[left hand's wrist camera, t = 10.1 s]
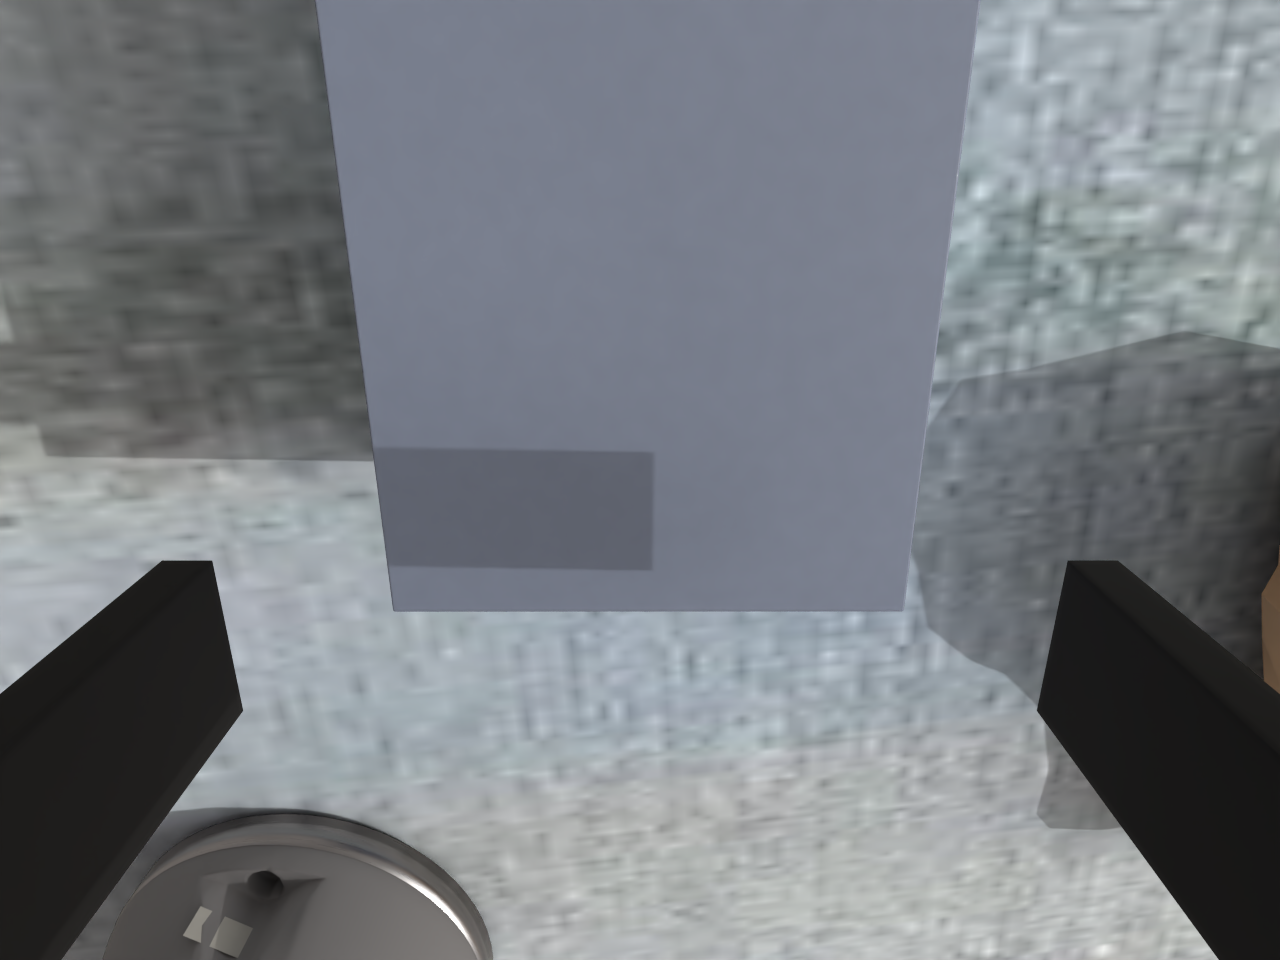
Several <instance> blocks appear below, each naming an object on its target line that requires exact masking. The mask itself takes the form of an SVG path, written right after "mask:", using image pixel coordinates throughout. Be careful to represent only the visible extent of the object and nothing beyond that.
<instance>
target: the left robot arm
mask: <svg viewBox="0 0 1280 960" xmlns="http://www.w3.org/2000/svg"><path fill="white" fill-rule="evenodd" d="M242 711H243V708H242V703H241V698H240V693H239V689H238V684H237V679H236V674H235V669H234V664H233V659H232V655H231V650H230V645H229V640H228V635H227V630H226V625H225V621H224V616H223V611H222V606H221V601H220V596H219V591H218V587H217V582H216V577H215V572H214V567H213V562H212V561H161V562H160V563H159V564H158V565H156V566H155V567H154V568H153V569H152V570H150V571H149V572H148V573H147V574H145V575H144V576H143V577H142V578H141V579H139V580H138V581H137V582H136V583H134V584H133V585H132V586H131V587H130V588H128V589H127V590H126V591H125V592H124V593H122V594H121V595H120V596H119V597H117V598H116V599H115V600H114V601H113V602H111V603H110V604H109V605H108V606H107V607H105V608H104V609H103V610H102V611H100V612H99V613H98V614H97V615H96V616H94V617H93V618H92V619H91V620H90V621H88V622H87V623H86V624H85V625H83V626H82V627H81V628H80V629H79V630H77V631H76V632H75V633H74V634H73V635H71V636H70V637H69V638H68V639H66V640H65V641H64V642H63V643H62V644H60V645H59V646H58V647H57V648H56V649H54V650H53V651H52V652H51V653H49V654H48V655H47V656H46V657H45V658H43V659H42V660H41V661H40V662H39V663H37V664H36V665H35V666H34V667H32V668H31V669H30V670H29V671H28V672H26V673H25V674H24V675H23V676H21V677H20V678H19V679H18V680H17V681H15V682H14V683H13V684H12V685H11V686H9V687H8V688H7V689H6V690H4V691H3V692H2V693H1V694H0V960H61V959H62V958H63V956H64V955H65V954H66V952H67V951H68V950H69V948H70V947H71V945H72V944H73V943H74V941H75V940H76V939H77V937H78V936H79V935H80V933H81V932H82V930H83V929H84V928H85V926H86V925H87V924H88V922H89V921H90V919H91V918H92V917H93V915H94V914H95V913H96V911H97V910H98V909H99V907H100V906H101V904H102V903H103V902H104V900H105V899H106V898H107V896H108V895H109V893H110V892H111V891H112V889H113V888H114V887H115V885H116V884H117V883H118V881H119V880H120V878H121V877H122V876H123V874H124V873H125V872H126V870H127V869H128V867H129V866H130V865H131V863H132V862H133V861H134V859H135V858H136V857H137V855H138V854H139V852H140V851H141V850H142V848H143V847H144V846H145V844H146V843H147V841H148V840H149V839H150V837H151V836H152V835H153V833H154V832H155V831H156V829H157V828H158V826H159V825H160V824H161V822H162V821H163V820H164V818H165V817H166V815H167V814H168V813H169V811H170V810H171V809H172V807H173V806H174V805H175V803H176V802H177V800H178V799H179V798H180V796H181V795H182V794H183V792H184V791H185V789H186V788H187V787H188V785H189V784H190V783H191V781H192V780H193V779H194V777H195V776H196V774H197V773H198V772H199V770H200V769H201V768H202V766H203V765H204V763H205V762H206V761H207V759H208V758H209V757H210V755H211V754H212V753H213V751H214V750H215V748H216V747H217V746H218V744H219V743H220V742H221V740H222V739H223V737H224V736H225V735H226V733H227V732H228V731H229V729H230V728H231V727H232V725H233V724H234V722H235V721H236V720H237V718H238V717H239V716H240V714H241V713H242ZM1037 711H1038V713H1039V714H1040V716H1041V717H1042V718H1043V720H1044V721H1045V722H1046V724H1047V725H1048V727H1049V728H1050V729H1051V731H1052V732H1053V733H1054V735H1055V736H1056V737H1057V739H1058V740H1059V742H1060V743H1061V744H1062V746H1063V747H1064V748H1065V750H1066V751H1067V753H1068V754H1069V755H1070V757H1071V758H1072V759H1073V761H1074V762H1075V763H1076V765H1077V766H1078V768H1079V769H1080V770H1081V772H1082V773H1083V774H1084V776H1085V777H1086V779H1087V780H1088V781H1089V783H1090V784H1091V785H1092V787H1093V788H1094V789H1095V791H1096V792H1097V794H1098V795H1099V796H1100V798H1101V799H1102V800H1103V802H1104V803H1105V805H1106V806H1107V807H1108V809H1109V810H1110V811H1111V813H1112V814H1113V815H1114V817H1115V818H1116V820H1117V821H1118V822H1119V824H1120V825H1121V826H1122V828H1123V829H1124V831H1125V832H1126V833H1127V835H1128V836H1129V837H1130V839H1131V840H1132V841H1133V843H1134V844H1135V846H1136V847H1137V848H1138V850H1139V851H1140V852H1141V854H1142V855H1143V857H1144V858H1145V859H1146V861H1147V862H1148V863H1149V865H1150V866H1151V867H1152V869H1153V870H1154V872H1155V873H1156V874H1157V876H1158V877H1159V878H1160V880H1161V881H1162V883H1163V884H1164V885H1165V887H1166V888H1167V889H1168V891H1169V892H1170V893H1171V895H1172V896H1173V898H1174V899H1175V900H1176V902H1177V903H1178V904H1179V906H1180V907H1181V909H1182V910H1183V911H1184V913H1185V914H1186V915H1187V917H1188V918H1189V919H1190V921H1191V922H1192V924H1193V925H1194V926H1195V928H1196V929H1197V930H1198V932H1199V933H1200V935H1201V936H1202V937H1203V939H1204V940H1205V941H1206V943H1207V944H1208V945H1209V947H1210V948H1211V950H1212V951H1213V952H1214V954H1215V955H1216V956H1217V958H1218V959H1219V960H1280V694H1279V693H1278V692H1277V691H1276V690H1274V689H1273V688H1272V687H1271V686H1269V685H1268V684H1267V683H1266V682H1265V681H1263V680H1262V679H1261V678H1260V677H1259V676H1257V675H1256V674H1255V673H1254V672H1252V671H1251V670H1250V669H1249V668H1248V667H1246V666H1245V665H1244V664H1243V663H1241V662H1240V661H1239V660H1238V659H1237V658H1235V657H1234V656H1233V655H1232V654H1231V653H1229V652H1228V651H1227V650H1226V649H1224V648H1223V647H1222V646H1221V645H1220V644H1218V643H1217V642H1216V641H1215V640H1214V639H1212V638H1211V637H1210V636H1209V635H1207V634H1206V633H1205V632H1204V631H1203V630H1201V629H1200V628H1199V627H1198V626H1197V625H1195V624H1194V623H1193V622H1192V621H1190V620H1189V619H1188V618H1187V617H1186V616H1184V615H1183V614H1182V613H1181V612H1180V611H1178V610H1177V609H1176V608H1175V607H1173V606H1172V605H1171V604H1170V603H1169V602H1167V601H1166V600H1165V599H1164V598H1163V597H1161V596H1160V595H1159V594H1158V593H1156V592H1155V591H1154V590H1153V589H1152V588H1150V587H1149V586H1148V585H1147V584H1145V583H1144V582H1143V581H1142V580H1141V579H1139V578H1138V577H1137V576H1136V575H1135V574H1133V573H1132V572H1131V571H1130V570H1128V569H1127V568H1126V567H1125V566H1124V565H1122V564H1121V563H1120V562H1119V561H1068V562H1067V567H1066V572H1065V577H1064V582H1063V587H1062V591H1061V596H1060V601H1059V606H1058V611H1057V616H1056V621H1055V625H1054V630H1053V635H1052V640H1051V645H1050V650H1049V655H1048V659H1047V664H1046V669H1045V674H1044V679H1043V684H1042V689H1041V693H1040V698H1039V703H1038V708H1037ZM103 960H493V954H492V947H491V942H490V938H489V935H488V931H487V929H486V926H485V924H484V922H483V919H482V917H481V915H480V914H479V912H478V910H477V908H476V907H475V905H474V904H473V902H472V901H471V899H470V898H469V897H468V895H467V894H466V893H465V891H464V890H463V889H462V888H461V887H460V886H459V885H458V883H457V882H456V881H455V880H454V879H453V878H452V877H451V876H449V875H448V874H447V873H446V872H445V871H444V870H443V869H442V868H440V867H439V866H438V865H437V864H435V863H434V862H433V861H432V860H430V859H429V858H427V857H426V856H424V855H423V854H421V853H420V852H418V851H417V850H415V849H413V848H412V847H410V846H408V845H406V844H404V843H402V842H401V841H399V840H396V839H394V838H392V837H390V836H388V835H385V834H383V833H381V832H378V831H375V830H372V829H370V828H367V827H364V826H361V825H357V824H354V823H350V822H346V821H342V820H337V819H332V818H327V817H320V816H312V815H299V814H269V815H260V816H251V817H245V818H240V819H235V820H231V821H227V822H224V823H220V824H217V825H214V826H212V827H209V828H207V829H204V830H201V831H199V832H197V833H195V834H193V835H192V836H190V837H188V838H186V839H184V840H183V841H181V842H180V843H178V844H177V845H175V846H174V847H172V848H171V849H170V850H169V851H168V852H166V853H165V854H164V855H163V856H162V857H161V858H160V859H159V860H158V861H157V862H156V863H155V864H154V865H153V867H152V868H151V869H150V871H149V872H148V874H147V875H146V876H145V878H144V879H143V881H142V882H141V884H140V885H139V886H138V888H137V889H136V891H135V892H134V894H133V895H132V896H131V898H130V899H129V901H128V902H127V904H126V905H125V906H124V908H123V910H122V912H121V913H120V915H119V917H118V919H117V922H116V925H115V927H114V930H113V932H112V934H111V936H110V938H109V941H108V944H107V947H106V950H105V953H104V956H103Z"/></svg>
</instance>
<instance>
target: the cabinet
mask: <svg viewBox="0 0 1280 960" xmlns="http://www.w3.org/2000/svg"><path fill="white" fill-rule="evenodd" d="M315 5H316V13H317V21H318V28H319V36H320V44H321V52H322V60H323V67H324V75H325V83H326V91H327V98H328V106H329V114H330V122H331V130H332V137H333V145H334V153H335V161H336V169H337V176H338V184H339V192H340V200H341V207H342V215H343V223H344V231H345V239H346V246H347V254H348V262H349V270H350V278H351V285H352V293H353V301H354V309H355V316H356V324H357V332H358V340H359V348H360V355H361V363H362V371H363V379H364V386H365V394H366V402H367V410H368V418H369V425H370V433H371V441H372V449H373V457H374V464H375V472H376V480H377V488H378V495H379V503H380V511H381V519H382V527H383V534H384V542H385V550H386V558H387V566H388V573H389V581H390V589H391V597H392V604H393V610H394V611H903V610H904V604H905V596H906V588H907V580H908V572H909V564H910V556H911V548H912V540H913V532H914V524H915V517H916V509H917V501H918V493H919V485H920V477H921V469H922V461H923V453H924V445H925V437H926V429H927V421H928V413H929V405H930V397H931V389H932V381H933V373H934V365H935V358H936V350H937V342H938V334H939V326H940V318H941V310H942V302H943V294H944V286H945V278H946V270H947V262H948V254H949V246H950V238H951V230H952V222H953V214H954V207H955V199H956V191H957V183H958V175H959V167H960V159H961V151H962V143H963V135H964V127H965V119H966V111H967V103H968V95H969V87H970V79H971V71H972V63H973V55H974V48H975V40H976V32H977V24H978V16H979V8H980V0H315Z"/></svg>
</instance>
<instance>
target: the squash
mask: <svg viewBox="0 0 1280 960" xmlns="http://www.w3.org/2000/svg"><path fill="white" fill-rule="evenodd" d="M1262 649H1263V669H1264V681H1265V682H1266V683H1267V684H1268V685H1269V686H1271V687H1272V688H1273V689H1274V690H1276V691H1277V692H1278V693H1279V694H1280V547H1279V561H1278V566H1277V568H1276V570H1275V571H1274V573H1273V575H1272V576H1271V578H1270V580H1269V582H1268V583H1267V585H1266V587H1265V589H1264V590H1263V592H1262Z"/></svg>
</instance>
